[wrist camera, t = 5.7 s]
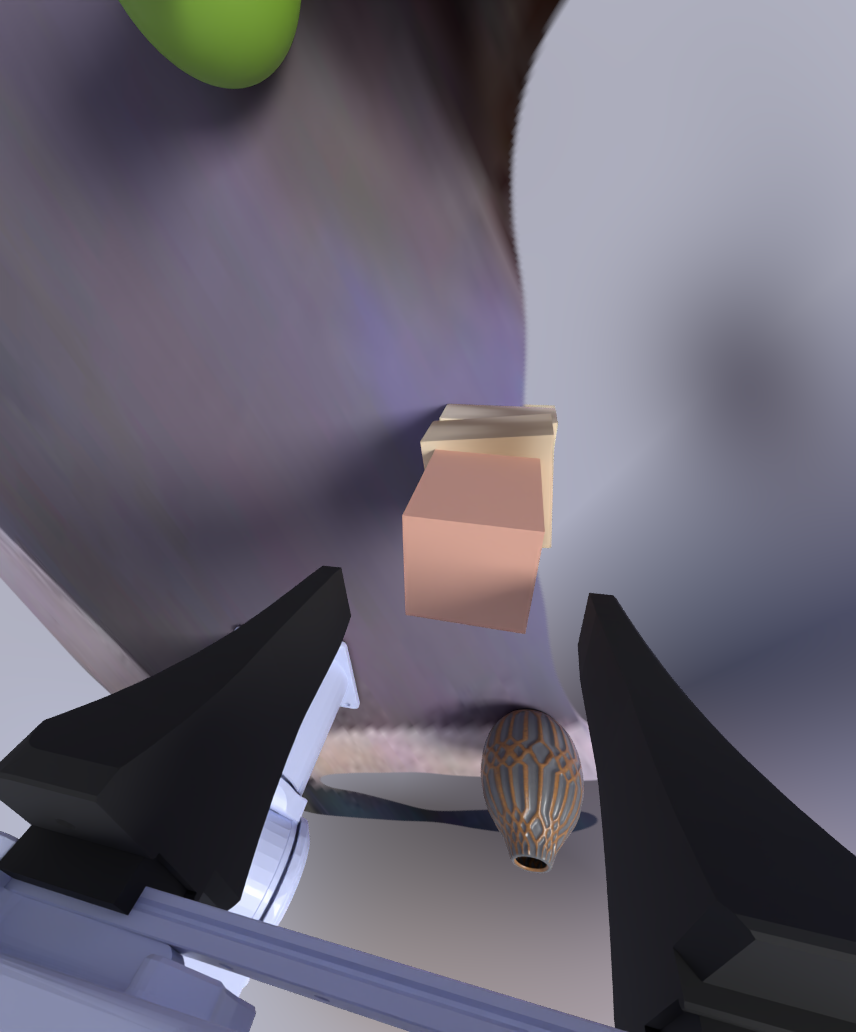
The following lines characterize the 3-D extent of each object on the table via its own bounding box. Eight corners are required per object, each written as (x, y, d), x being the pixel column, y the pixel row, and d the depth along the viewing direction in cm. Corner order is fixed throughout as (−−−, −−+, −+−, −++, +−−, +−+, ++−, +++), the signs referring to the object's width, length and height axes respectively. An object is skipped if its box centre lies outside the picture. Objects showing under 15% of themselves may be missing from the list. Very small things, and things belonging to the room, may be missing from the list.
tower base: (448, 491, 22) (440, 514, 20) (449, 401, 20) (439, 417, 18) (541, 498, 21) (542, 524, 19) (554, 405, 19) (558, 423, 17)
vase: (529, 759, 34) (530, 895, 26) (467, 716, 32) (450, 847, 25) (597, 733, 30) (620, 883, 23) (531, 684, 29) (532, 826, 21)
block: (434, 533, 18) (405, 615, 14) (435, 449, 16) (402, 515, 12) (525, 544, 17) (525, 634, 13) (540, 458, 15) (544, 532, 11)
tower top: (445, 517, 20) (435, 546, 18) (432, 421, 18) (420, 441, 16) (548, 517, 19) (551, 548, 17) (550, 413, 17) (554, 434, 14)
